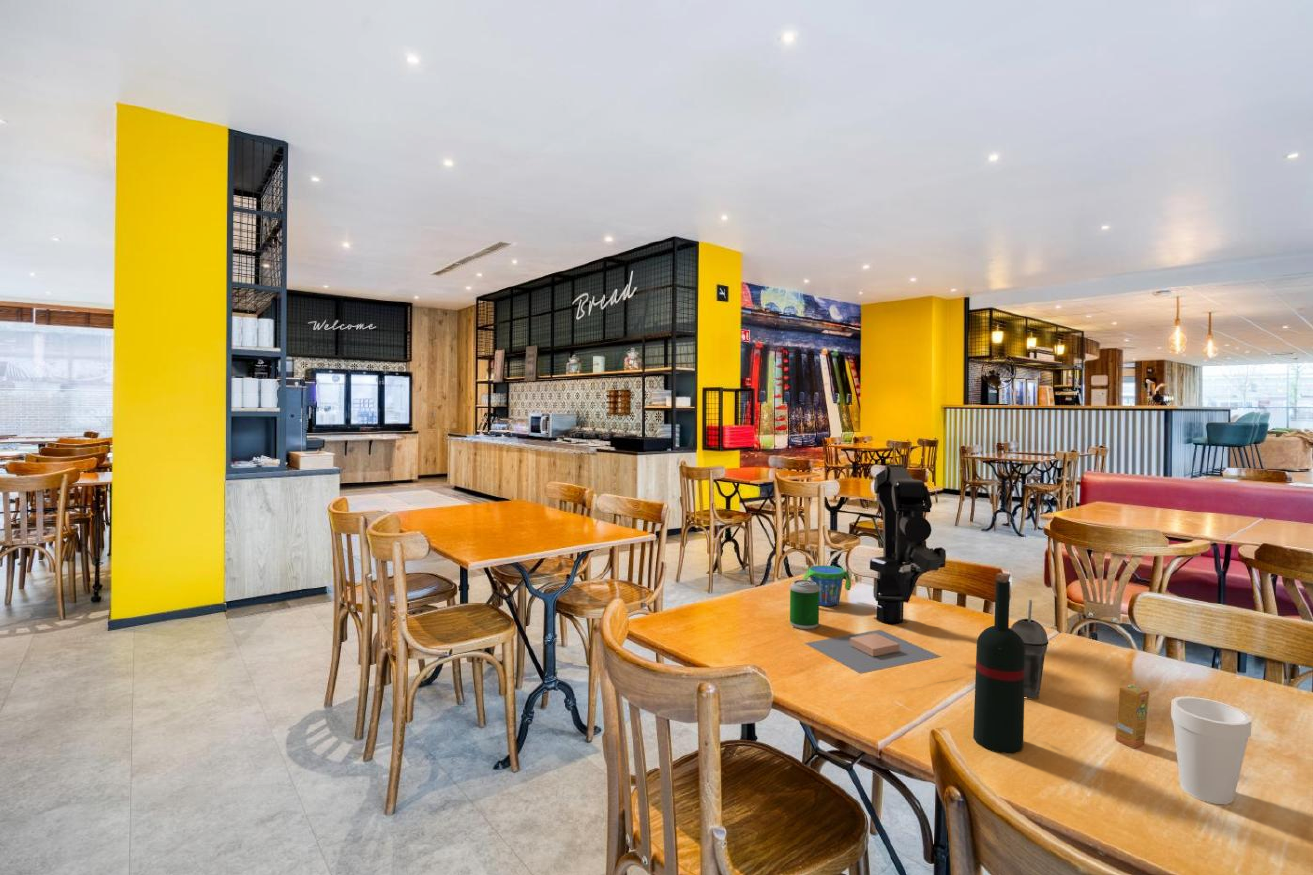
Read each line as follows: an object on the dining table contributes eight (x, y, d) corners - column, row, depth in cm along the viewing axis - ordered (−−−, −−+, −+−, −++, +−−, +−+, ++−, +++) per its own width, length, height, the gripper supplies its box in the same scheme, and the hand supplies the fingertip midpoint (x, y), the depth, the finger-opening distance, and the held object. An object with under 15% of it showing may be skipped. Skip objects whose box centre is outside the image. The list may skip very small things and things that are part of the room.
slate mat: (880, 631, 175) (880, 629, 175) (941, 659, 156) (941, 656, 156) (804, 645, 165) (804, 643, 165) (860, 676, 147) (860, 673, 147)
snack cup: (841, 596, 206) (842, 563, 206) (859, 606, 196) (859, 572, 196) (794, 599, 203) (794, 566, 203) (809, 610, 193) (809, 575, 192)
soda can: (821, 632, 174) (822, 586, 174) (792, 632, 175) (793, 586, 174) (815, 622, 182) (816, 579, 181) (787, 622, 182) (788, 578, 181)
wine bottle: (1037, 740, 119) (1043, 573, 117) (1009, 758, 113) (1015, 583, 111) (993, 723, 125) (998, 564, 124) (964, 739, 119) (969, 573, 118)
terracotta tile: (875, 633, 166) (850, 637, 163) (899, 643, 159) (873, 649, 156) (875, 641, 166) (849, 645, 163) (899, 652, 159) (872, 657, 156)
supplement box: (1135, 749, 116) (1137, 693, 115) (1114, 740, 119) (1116, 685, 118) (1147, 745, 117) (1149, 689, 117) (1126, 736, 120) (1128, 682, 120)
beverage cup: (1042, 689, 140) (1045, 595, 139) (1050, 704, 133) (1053, 605, 132) (1003, 684, 142) (1006, 591, 141) (1009, 699, 135) (1012, 601, 134)
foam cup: (1179, 802, 101) (1183, 717, 100) (1158, 770, 109) (1162, 692, 109) (1259, 816, 97) (1263, 729, 97) (1231, 782, 106) (1235, 702, 105)
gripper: (903, 543, 148) (902, 612, 149) (965, 536, 156) (963, 602, 157) (868, 534, 159) (867, 599, 159) (927, 528, 166) (926, 590, 167)
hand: (907, 598), depth 160 cm, fingers closed
